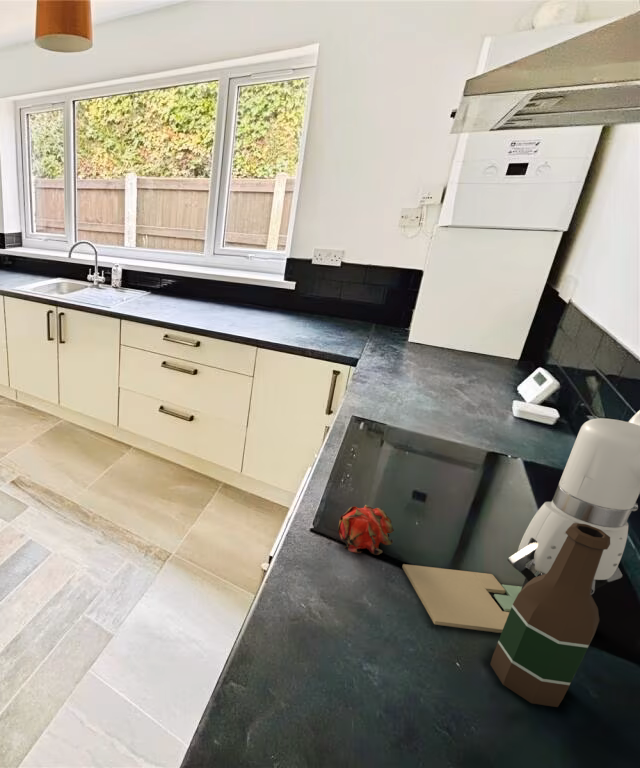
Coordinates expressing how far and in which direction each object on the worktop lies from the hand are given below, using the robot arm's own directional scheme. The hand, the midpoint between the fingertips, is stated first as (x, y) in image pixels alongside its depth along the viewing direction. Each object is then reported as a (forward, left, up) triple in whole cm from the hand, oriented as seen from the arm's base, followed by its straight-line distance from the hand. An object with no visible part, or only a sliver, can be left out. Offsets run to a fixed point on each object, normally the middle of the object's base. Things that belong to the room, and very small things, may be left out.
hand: (547, 604), depth 70 cm
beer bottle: (+10, +13, -2) cm, 17 cm away
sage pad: (+1, 0, -1) cm, 2 cm away
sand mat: (+11, 0, -1) cm, 12 cm away
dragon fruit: (+24, -11, -2) cm, 26 cm away
